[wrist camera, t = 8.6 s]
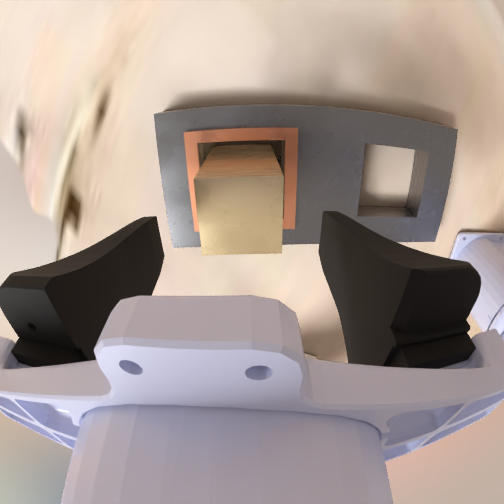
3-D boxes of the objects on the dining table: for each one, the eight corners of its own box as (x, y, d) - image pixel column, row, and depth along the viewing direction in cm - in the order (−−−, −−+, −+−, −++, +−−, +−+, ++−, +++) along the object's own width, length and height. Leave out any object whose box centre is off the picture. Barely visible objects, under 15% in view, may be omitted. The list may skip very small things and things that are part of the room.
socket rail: (443, 124, 17) (459, 130, 15) (424, 230, 23) (436, 243, 21) (162, 111, 17) (152, 114, 15) (178, 234, 23) (172, 249, 21)
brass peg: (270, 144, 19) (283, 176, 12) (270, 196, 21) (281, 253, 14) (214, 146, 19) (193, 179, 12) (217, 197, 21) (202, 254, 14)
